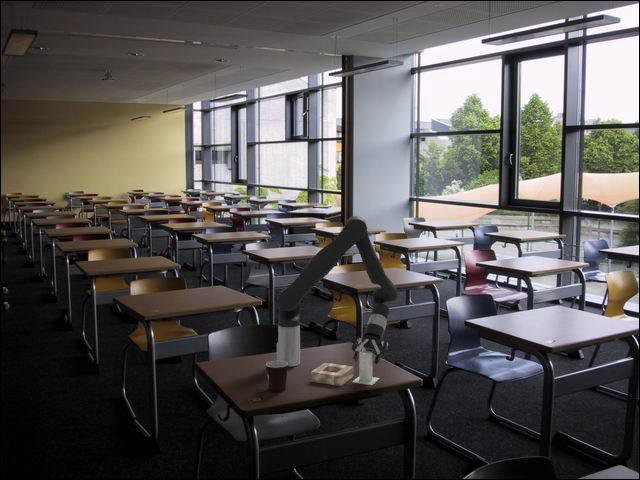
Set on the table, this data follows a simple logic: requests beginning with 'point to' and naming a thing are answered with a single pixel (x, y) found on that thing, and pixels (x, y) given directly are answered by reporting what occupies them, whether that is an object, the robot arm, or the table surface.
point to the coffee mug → (277, 375)
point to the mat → (366, 382)
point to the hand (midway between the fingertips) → (365, 362)
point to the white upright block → (365, 366)
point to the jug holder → (332, 374)
